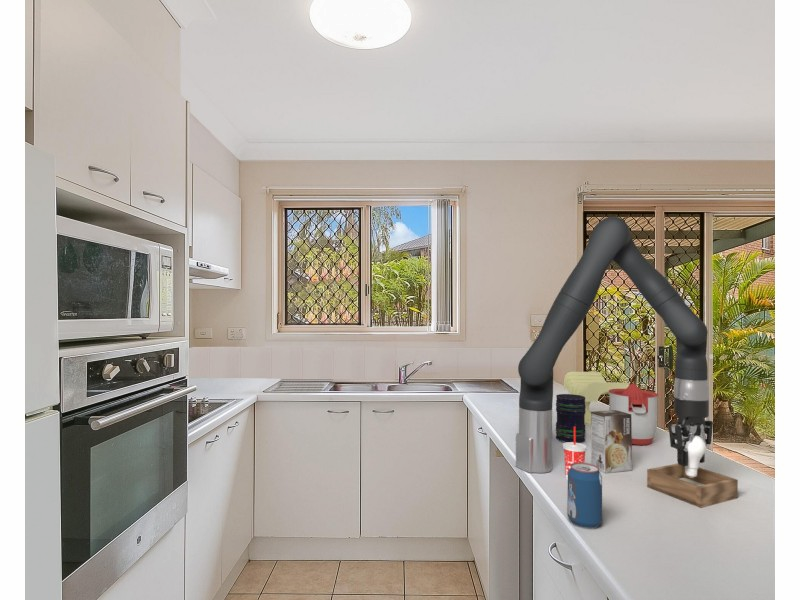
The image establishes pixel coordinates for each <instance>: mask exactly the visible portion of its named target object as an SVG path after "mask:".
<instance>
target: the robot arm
mask: <svg viewBox="0 0 800 600" xmlns="http://www.w3.org/2000/svg"><path fill="white" fill-rule="evenodd" d="M629 227H630V226H628V223H627V222H626V221H625V220H624V219H622V218H621V217H619V216H608V217H605V218H603V219H601V220H600V221H598V223H596V225H595V227H594V228H593V230H592V232H591V235H590V237H589V239H588V242H587V244H586V246H585V248H584V251H583V253H582V255H581V257H580V259H579V261H578V262H577V264H576V265H575V267H574V268H573V269H572V271H571V272H570V274H569V276H568V277H567V279H566V280H565V282H564V284H563V285H562V287H560V290H559V292H558V294H557V295H556V297H555V299H554V301H553V303H552V305H551V307H550V309H549V311H548V312H547V315H546V317H545V320H544V322H543V325H542V327H541V330H540V332H538V333H539V334H538V335H537V336H536V339H534V342H533V343H532V345H531V346H530V347H529V348H528V350H527V351H526V352H525V354H524V355H523V356H522V358H521V359H520V361H519V363H518V365H517V366H518V367H517V372H518V376H519V378H520V390H519V398H518V432H517V433H516V434H515V467H516V468H517V469H520V470H523V471H524V472H527V473H530V474H531V473H535V474H537V473H538V474H539V473H540V474H545V473H549V472H552V470H553V401H554V400H553V399H554V366H555V365H556V364H557V363H556V362H557V360H558V357H559V356H560V353H561V352H562V350H563V348H564V347H565V345H567V343H568V341H569V340H570V339H571V337H572V336H573V335H574V334H575V332H576V331H577V329H578V328H579V327H580V325H581V324H582V322H583V320H584V319H585V318H586V316H587V314H588V313H589V311H590V309H591V307H592V306H593V304H594V301H595V299H596V297H597V296H598V292H599V290H600V286H601V284H602V281H603V279H604V276H605V273H606V271H607V269H608V268H609V266H610V265H611V263H612V261H613V262H614V263H615V264H616V265H617V266H618V267H619V268H621V270H622V271H623V272H624V273H625V274H626V276H627V277H629V279H630V281H631V282H632V284H633V285H634V286H635V287H636V289H637V290H638V292H639V293H640V294H641V295H642V297H643V298H644V299H645V300H646V302H647V303H648V305H650V307H651V308H652V310H653V311H654V312H656V314H658V315H659V317H660V318H662V320H663V322H664V323H665V324H666V326H667V328H668V329H669V331H670V332H671V333H672V334H673V336H674V337H675V339H676V340H675V344H676V345H675V346H676V357H675V362H674V377H675V378H674V384H673V413H674V415H677V421H676V423H675V424H673V423H669V424H668V435H669V444H670V447H671V448H674V449H676V451H677V456H676V457H677V459H676V460H677V464H679V465H682V466H688V451H687V450H688V447H689V444H690V443H692V440H693V436H699V437H700V438H702V440H703V441H704V442H705V445H706V447H707V445H711V444H712V437H713V425H714V422H713V420H709V419H706V418H708V417H709V415H710V407H709V406H710V398H709V397H710V391H709V390H710V388H709V383H708V378H709V377H708V375H709V374H708V371H709V370H708V361H707V349H708V348H707V347H708V346H707V345H708V344H707V343H708V333H709V331H708V327H707V325H706V323H704V321H702V319H701V318H700V317H698V316H697V314H696V313H695V312H694V311H693V310H692V309H691V308H690V307H689V306H688V305H687V303H686V302H685V299H684V298H683V297H682V296H681V295H680V294H679V292H678V291H677V290H676V289H675V287H673V285H672V284H671V283H670V281H668V279H666V277H665V276H664V274H663V275H662V273H661V272H659V270H657V269H656V267H654V266H653V264H652V263H650V262H649V261H648V259H646V257H644V254H642V252H641V251H640V250H639V248H638V247H637V245H636V243H635V242H634V240H633V238H632V235H631V231H630V228H629ZM682 435H683V436H684V437H687V438H684V437H682ZM682 441H685V442H684V446H683V443H682ZM705 456H706V452H705V453H704V455H703V456H702V458H701V459H700V462H699V464H702V463H705V459H706V457H705Z"/></svg>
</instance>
